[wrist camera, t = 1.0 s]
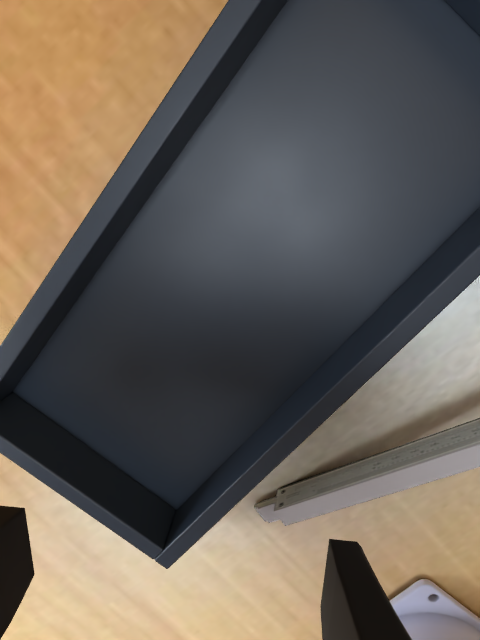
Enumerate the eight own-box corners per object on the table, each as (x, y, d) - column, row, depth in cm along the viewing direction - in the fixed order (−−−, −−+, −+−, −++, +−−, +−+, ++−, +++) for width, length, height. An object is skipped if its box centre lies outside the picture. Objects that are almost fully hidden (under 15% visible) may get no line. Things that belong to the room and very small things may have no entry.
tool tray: (587, 121, 14) (665, 102, 11) (181, 520, 21) (167, 570, 18) (349, -126, 13) (370, -217, 10) (-3, 387, 20) (-50, 419, 17)
